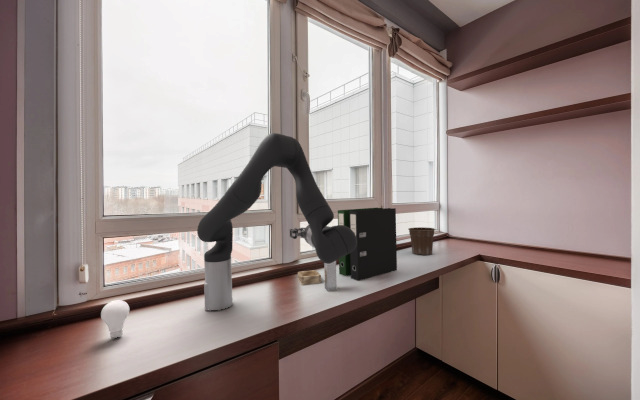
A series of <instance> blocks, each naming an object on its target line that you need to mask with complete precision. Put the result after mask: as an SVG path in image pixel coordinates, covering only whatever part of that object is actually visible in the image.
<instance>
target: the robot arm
mask: <svg viewBox="0 0 640 400" xmlns="http://www.w3.org/2000/svg"><path fill="white" fill-rule="evenodd" d="M274 167H277V168H285V169H287V170H288V172H289V173H290V175H291V176H292V177H293V179H294V183H295V194H296V195H295V196H296V202H297V205H298V207H299V209H300V211H301V213H302V215H303V216H304V218H305V220H306V222H307V224H308V225H306V227H299V228H298V227H294V229H293V228H290V229H289V237H290V238H291V239H294V240H296V239H297V238H299V239H304V241H305V242H306V243H307V244H308V245H310V246H311V247H312V248H314V250H315V253H316V254H315V255H316V256H317V257H318V259H319V260H320V261H321V262H322V263H323V264H324V263H327V264H330V263H332V262H334V261H336V262H337V261H339V259H340V258H342V257H344V256H345V255H347V254H349V253H351V252H353V251H354V250H355V248H356V246H357V237H356V235H355V233H354V232H353V231H352V230H351V229H350V228H349V227H347V226H344V225H338V224H337V225H332V226H328V225H329V224H330V223H332V221H333V219H334V218H335V216H334V212H333V210H332V208H331V207H330V205H329V204H328V202H327V200H326V198H325V196H324V194H323V193H322V192H321V190H320V188H319V186H318V184H317V182H316V180H315V177H314V175H313V173H312V170H311V167H310V165H309V163H308V160H307V157H306V155H305V153H304V149H303V148H302V145H301V144H300V142H299V141H298V140H297V139H296V138H295V137H292V136H289V135H285V134H281V133H279V132H276V133H275V132H272V133H269V134H267V135H265V136H264V138H263V139H262V140H261V142H260V143H259V145H258V146H257V148H255V151H254V153H253V155H252V156H251V158H250V160H248V163H247V164H246V165H245V166H244V168H243V169H242V171H241V172H240V174H239V175H238V177H237V178H236V179H235V180H234V181H233V182H232V183H231V185H230V186H229V187H228V189H227V190H226V192H225V193H224V194H223V196H222V197H221V198H220V199H219V201H218V202H217V203H216V204H215V205H214V206H213V207H212V208H211V209H210V210H209V211H208V212H207V213H206V214H205V215H204V216H203V217H202V218H201V219H200V220H199V222H198V226H197V228H196V229H197V231H196V233H197V234H196V235H197V236H198V238H199V240H200V241H202V242H204V243H214V242H215V244H214V245H213V246H212V247H211V248H210V249H208V250H207V251H205V252H204V255H203V260H204V261H203V262H204V265H203V266H204V284H203V287H204V288H203V290H204V292H203V293H204V294H203V295H204V311H211V310H218V311H222V310H221V309H223V310H226V309H229V308H231V307H232V306H233V274H232V252H233V238H234V237H233V235H234V229H233V228H234V227H233V223H232V219H235V218H236V217H238V216H240V215H242V214H244V213H245V212H247V211H248V210H249V209H250V208H251V207H252V206H253V205H254V204H255V203H256V202H257V201H258V200H259V198H260V196H261V193H262V182H263V181H262V180H263V179H264V177H265V176H266V174H267V173H268V172H269V171H271V169H272V168H274ZM231 305H232V306H231ZM228 307H229V308H228ZM225 308H226V309H225ZM208 309H209V310H208Z"/></svg>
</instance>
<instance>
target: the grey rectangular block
mask: <svg viewBox="0 0 640 400" xmlns="http://www.w3.org/2000/svg"><path fill="white" fill-rule="evenodd" d="M323 266H324V268H323V269H324V289H325V290H326V292H334V291H337V290H338V287H337V285H338V284H337V283H338V281H337V260H336V261H334V262H332V263H330V264H327V263H324V262H323Z"/></svg>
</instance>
